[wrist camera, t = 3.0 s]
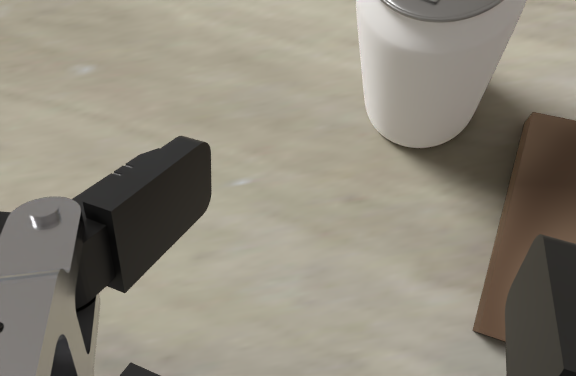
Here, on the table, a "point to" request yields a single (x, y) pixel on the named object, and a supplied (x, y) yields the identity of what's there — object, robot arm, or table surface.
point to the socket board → (531, 210)
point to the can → (429, 63)
